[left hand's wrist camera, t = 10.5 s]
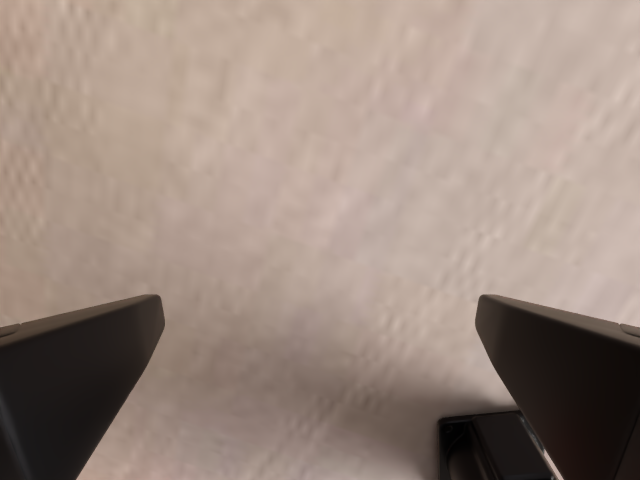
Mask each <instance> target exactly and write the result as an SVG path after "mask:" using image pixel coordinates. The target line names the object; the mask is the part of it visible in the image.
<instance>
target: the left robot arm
mask: <svg viewBox="0 0 640 480" xmlns="http://www.w3.org/2000/svg"><path fill="white" fill-rule="evenodd" d="M164 326H165V319H164V313H163V307H162V301H161V298H160V296H159V295H141V296H137V297H132V298H128V299H124V300H119V301H115V302H111V303H107V304H102V305H98V306H94V307H89V308H85V309H81V310H77V311H72V312H68V313H64V314H59V315H55V316H51V317H46V318H42V319H38V320H34V321H29V322H25V323H22V324H21V325H20V324H14V325H10V326H5V327H1V328H0V480H76V479H77V477H78V476H79V474H80V472H81V471H82V469H83V468H84V466H85V464H86V463H87V461H88V460H89V458H90V456H91V455H92V453H93V452H94V450H95V448H96V447H97V445H98V444H99V442H100V440H101V439H102V437H103V436H104V434H105V432H106V431H107V429H108V428H109V426H110V424H111V423H112V421H113V420H114V418H115V416H116V415H117V413H118V412H119V410H120V409H121V407H122V405H123V404H124V402H125V401H126V399H127V397H128V396H129V394H130V393H131V391H132V389H133V388H134V386H135V385H136V383H137V381H138V380H139V378H140V377H141V375H142V373H143V372H144V370H145V368H146V367H147V365H148V363H149V361H150V358H151V356H152V354H153V352H154V350H155V348H156V345H157V343H158V341H159V339H160V337H161V334H162V332H163V330H164ZM475 326H476V330H477V332H478V334H479V337H480V339H481V341H482V343H483V345H484V348H485V350H486V352H487V354H488V356H489V358H490V361H491V363H492V365H493V367H494V368H495V370H496V372H497V373H498V375H499V377H500V378H501V380H502V381H503V383H504V385H505V386H506V388H507V389H508V391H509V393H510V394H511V396H512V397H513V399H514V400H515V402H516V404H517V405H518V407H519V408H520V411H509V412H498V413H487V414H477V415H466V416H455V417H445V418H442V419H440V420H439V421H438V424H437V434H438V480H559V479H558V478H557V476H556V474H555V473H554V471H553V469H552V468H551V466H550V464H549V463H548V461H547V459H546V458H545V456H544V449H545V450H546V452H547V453H548V455H549V456H550V458H551V460H552V461H553V463H554V464H555V466H556V468H557V469H558V471H559V472H560V474H561V476H562V477H563V479H564V480H640V328H639V327H635V326H630V325H626V324H620V325H619V324H618V323H615V322H611V321H607V320H602V319H598V318H594V317H589V316H585V315H581V314H576V313H572V312H568V311H564V310H559V309H555V308H551V307H546V306H542V305H538V304H533V303H529V302H525V301H521V300H516V299H512V298H508V297H503V296H499V295H481V296H480V298H479V301H478V307H477V313H476V318H475ZM445 426H446V427H445Z"/></svg>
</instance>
